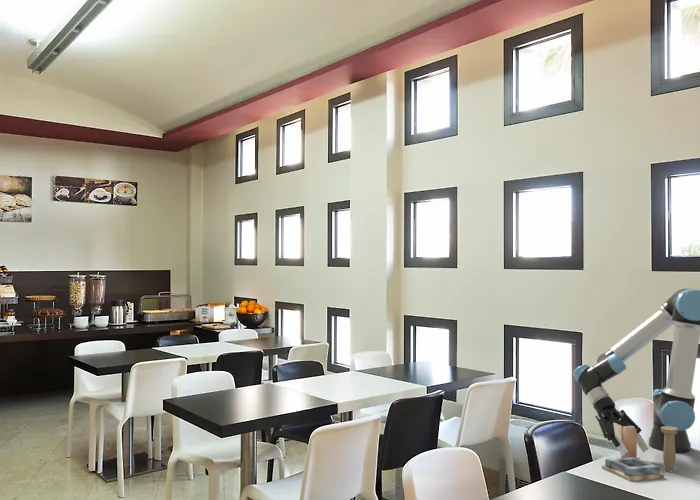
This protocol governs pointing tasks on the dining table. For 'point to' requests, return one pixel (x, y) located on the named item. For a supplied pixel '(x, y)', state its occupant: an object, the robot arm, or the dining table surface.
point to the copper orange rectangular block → (629, 440)
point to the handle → (669, 447)
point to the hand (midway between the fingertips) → (635, 452)
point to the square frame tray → (632, 469)
